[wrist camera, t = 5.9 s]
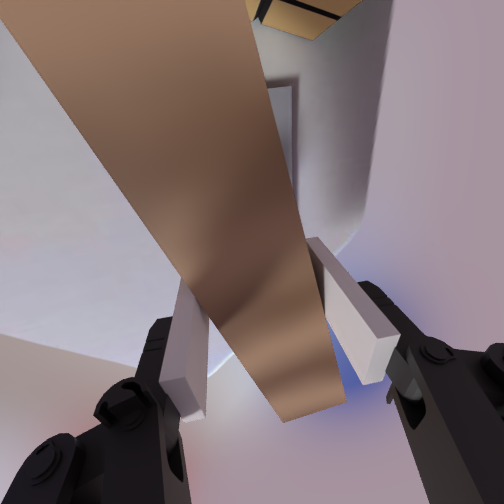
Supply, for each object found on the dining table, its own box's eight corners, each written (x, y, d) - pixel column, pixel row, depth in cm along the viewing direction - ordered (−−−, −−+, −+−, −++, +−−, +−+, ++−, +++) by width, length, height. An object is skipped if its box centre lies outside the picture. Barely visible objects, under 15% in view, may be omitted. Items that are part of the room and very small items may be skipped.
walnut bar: (72, 19, 8) (-70, -81, 4) (202, -44, 7) (188, -220, 4) (270, 366, 20) (283, 422, 16) (321, 348, 20) (346, 402, 16)
